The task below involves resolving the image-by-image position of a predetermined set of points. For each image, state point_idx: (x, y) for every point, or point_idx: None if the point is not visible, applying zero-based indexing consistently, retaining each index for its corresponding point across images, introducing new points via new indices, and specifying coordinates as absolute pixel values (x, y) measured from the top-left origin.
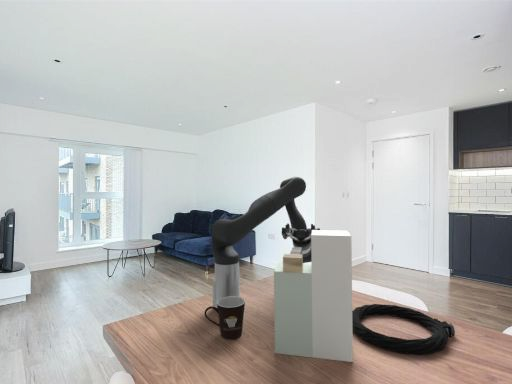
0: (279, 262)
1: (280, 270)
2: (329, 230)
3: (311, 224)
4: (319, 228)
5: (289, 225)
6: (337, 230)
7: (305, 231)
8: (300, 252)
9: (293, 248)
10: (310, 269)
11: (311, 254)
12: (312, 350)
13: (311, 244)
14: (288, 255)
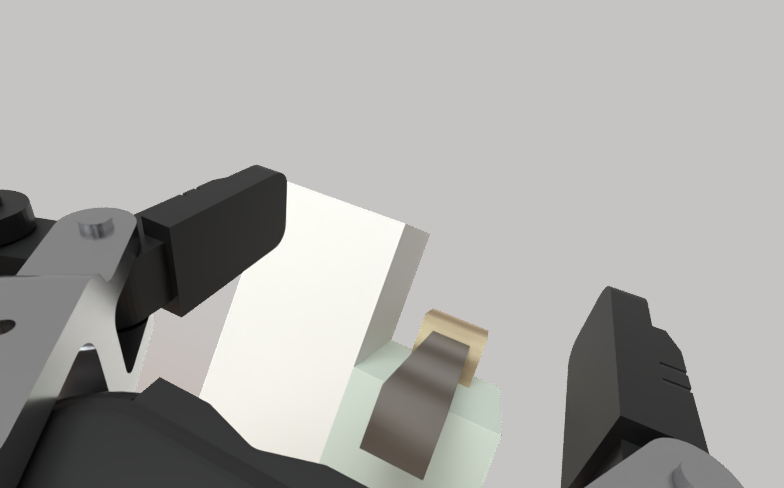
0: (498, 432)
1: (481, 383)
2: (339, 200)
3: (281, 180)
4: (4, 190)
5: (610, 340)
6: (308, 189)
7: (150, 400)
8: (416, 348)
9: (444, 394)
10: (384, 350)
11: (409, 288)
12: None
13: (419, 260)
14: (472, 328)
